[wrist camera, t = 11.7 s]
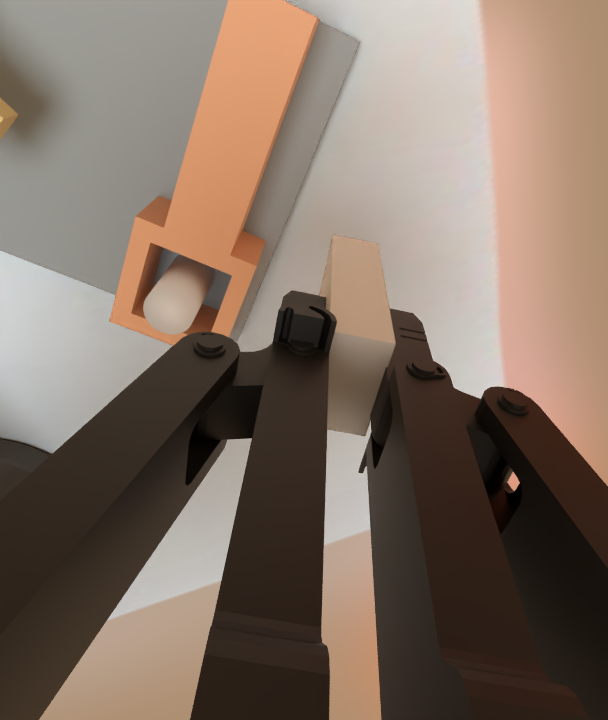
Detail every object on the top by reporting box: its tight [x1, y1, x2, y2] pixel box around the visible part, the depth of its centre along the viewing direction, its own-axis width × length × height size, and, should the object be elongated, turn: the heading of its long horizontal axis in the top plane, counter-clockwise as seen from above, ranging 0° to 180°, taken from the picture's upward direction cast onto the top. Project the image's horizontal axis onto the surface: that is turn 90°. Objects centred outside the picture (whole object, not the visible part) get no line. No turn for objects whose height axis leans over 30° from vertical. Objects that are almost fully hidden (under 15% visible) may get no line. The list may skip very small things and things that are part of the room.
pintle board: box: [0, 0, 359, 341], centre depth 26 cm, size 18×22×7 cm
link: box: [110, 0, 320, 346], centre depth 27 cm, size 17×6×4 cm, turn 157°
